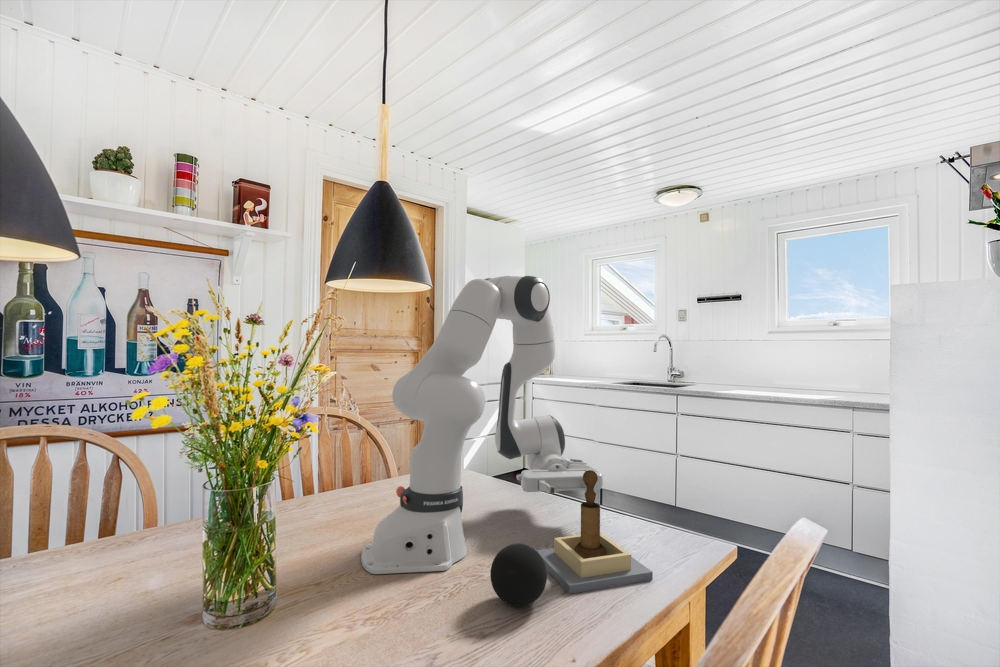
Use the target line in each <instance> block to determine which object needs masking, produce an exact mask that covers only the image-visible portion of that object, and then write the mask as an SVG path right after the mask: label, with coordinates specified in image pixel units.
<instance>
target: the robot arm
mask: <svg viewBox="0 0 1000 667" xmlns="http://www.w3.org/2000/svg"><path fill="white" fill-rule="evenodd" d="M550 297H551V296H550V291H549V288H548V286H547V284H546V282H544V280H543V279H542V278H540V277H537V276H533V275H525V276H522V275H521V276H519V275H502V276H497V277H488V278H474V279H471V280H469V281H468V282H467V283H466V284H465V285H464V287H463V288H462V289H461V291H460V292H459V294H458V295H457V296H456V298H455V300H454V301H453V303H452V305H451V307H450V310H449V311H448V314H447V315H446V318H445V320H444V322H443V324H442V326H441V328H440V330H439V333H438V334H437V337H436V338H435V340H434V341H433V344H431V346H430V347H429V349H428V350H427V352H426V353H425V354H424V355H423V356H422V357H421V359H420V360H419V361H418V362H417V364H416V365H415V366H414V367H413V368H412V369H411V370H410V371H408V372H407V373H406V374H404V375H403V376H401V377H400V378H399V379H398V380H397V381H396V382H395V384H394V387H393V389H392V396H391V398H392V403H393V405H394V407H395V408H396V409H397V411H399V412H400V413H401V414H403V415H404V416H406V417H408V418H410V419H411V420H415V421H416V420H417V421H420V422H423V423H424V424H423V431H422V434H421V437H420V439H419V442H418V443H417V444H416V445H415V446H414V447H413V448H412V449H411V452H410V454H409V456H410V457H409V459H410V460H409V486H408V487H406V488H405V487H404V486H402V485H401V486H397V488H396V490H395V493H396V495H397V497H398V498H399V506H398V507H396V508H395V509H394V510H393V511H392V512H391V513H389V514H388V515H387V516H385V517H384V518H383V519H382V520H380V521H379V522H378V523H377V525H376V527H375V529H374V532H373V536H372V537H373V538H372V542H369V543H367V544H366V545H365V546H364V547H363V548H362V551H361V554H360V555H361V557H360V561H361V565H362V567H363V569H364V570H365V571H367V572H368V573H370V574H373V575H384V574H405V573H424V572H425V573H427V572H440V571H441V572H442V571H447V570H449V569H450V568H451V567H452V566H453V564H455V563H456V562H459V561H460V560H462V559H463V558H464V557H465V556H466V555H467V554H468V548H467V547H468V546H467V544H466V540H465V534H464V528H463V518H462V512H463V508H464V491H463V486H462V484H461V482H462V480H461V479H462V456H463V448H464V445H465V441H466V438H467V436H468V433H469V431H470V429H471V428H472V427H473V425H474V424H476V423H477V422H478V421H479V420H480V418H481V417H482V415H483V412H484V410H485V405H486V398H485V392H484V390H483V388H482V386H481V385H480V384H479V383H477V382H476V381H475V380H473V379H470V378H467V377H465V376H463V375H464V374H465V373H466V372H467V371H468V370H469V369H471V368H472V367H474V366H476V365H477V364H478V363H479V361H481V359H482V356H483V354H484V351H485V349H486V347H487V345H488V342H489V340H490V337H491V334H492V332H493V330H494V328H495V324H496V322H497V319H498V320H499V319H500V320H507V321H511V323H512V346H513V350H512V354H511V357H510V359H509V360H508V362H506V363H505V364H504V365H503V368H502V372H501V380H500V387H499V388H500V391H499V398H498V400H499V401H498V412H497V413H498V415H497V423H496V427H495V428H496V429H495V436H494V443H495V444H494V445H495V447H496V450H497V451H496V452H497V453H498V454H500V455H501V456H503V457H504V458H506V459H507V460H513V459H517V458H521V457H524V456H526V457H525V458H526V460H525V461H526V466H527V468H528V469H524V470H522V471H521V473H519V474H516V476H515V477H516V479H517V481H520V486H521V489H522V491H523V492H526V493H537V492H542V493H543V492H544V493H546V494H548V495H550V494H551V495H552V494H555V493H559V492H562V491H563V492H565V491H585V492H586V490H587V487H586V485H585V483H584V481H583V474H584V473H585V472H586V471H588V470H592V471H594V472H595V473H596V474H597V477H598V480H597V482H596V484H595V486H594V491H595V490H601V489H603V485H604V475H603V473H601V472H600V470H598V469H596V468H595V467H593V466H592V465H588V463H587V461H586V460H582V459H573V458H567V457H564V456H563V454H564V451H565V449H566V439H565V438H566V436H565V433H564V429H563V427H562V424H561V423H560V422H559V421H558V420H557V419H556V418H555V417H554V416H552V415H549V414H548V415H538V416H535V417H529V418H524V419H523V418H522V419H515V413H516V412H515V411H516V404H517V403H516V400H517V393H518V392H519V390H520V389H521V387H522V386H524V384H525V383H527V382H528V381H530V380H532V379H534V378H536V377H538V376H540V375H541V374H543V373H544V372H546V371H547V369H549V367H551V365H552V364H553V361H554V360H555V355H556V354H555V353H556V352H555V351H556V347H555V346H556V345H555V337H554V336H555V334H554V329H553V328H554V327H553V321H552V318H551V314H550V311H549V305H550V299H551V298H550Z"/></svg>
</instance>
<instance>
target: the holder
mask: <svg viewBox="0 0 1000 667" xmlns="http://www.w3.org/2000/svg"><path fill="white" fill-rule="evenodd" d="M553 540H554V541H553V542H554V543H553V544H554V545H553V547H552V548H545V549H543V548H542V549H535V550H536V551H537V552H538V553H539V554H540V555H541V557H542V558H543V560H544V562H545V565H546V569H547V573H549V574H550V575H551V576H552V577H553V578H554V579H555V581H556V582H557V583H559V585H560V586H561V587H562V588H563V589H564V590H565V591H566V592H567V593H568V594H569V595H571V594H576V593H581V592H588V591H594V590H600V589H605V588H606V589H607V588H611V587H612V586H613V587H616V586H617V587H618V586H624V585H630V584H635V582H636V583H641V581H642V582H645V581H646V582H647V580H648V581H651V580H653V573H654V572H653V570H650V568H648V567H646V566H645V565H643V564H642V563H641V562H640V561H638V560H636V559H635V558H634V557H633V556H632V554H631V553H630V552H628V551H627V550H626V549H624V548H623V547H621V546H620V545H619V544H617V543H616V542H614V541H613V540H612V539H611V538H609V537H607V536H606V535H605V534H603V533H602V532H600V544H602V545H603V547H605V548H606V551H607V556H601V557H594V558H587V559H583V558H582V557H581V556H579V555H578V554H577V553H576V552H575V551H574V548H575V546H576V545H577V544H578V543H579V542H581V534H575V535H567V536H566V535H565V536H560V537H559V536H557V537H554V539H553Z"/></svg>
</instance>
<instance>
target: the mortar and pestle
mask: <svg viewBox="0 0 1000 667" xmlns="http://www.w3.org/2000/svg"><path fill="white" fill-rule="evenodd" d="M597 480H598V477H597V474H596V473H595V472H594V471H592V470H588V471H586V472H585V473H584V474H583V481H584V483H585V485H586V487H587V490H586V491H585V492H584V497H585V501H586V502H585V501H584V502H581V504H580V535H581V542H579V543H578V544H577V545H576V546H575V548H574V551H575V552H576V553H577V554H578V555H579V556H581V557H582V558H583V559H587V558H594V557H601V556H607V551H606V548H605V547H603V545H602V544H600V533H601V505H600V504H599V503H597V502H595V501H596V496H597V493H596V492H595V490H594V486H595V484H596V482H597Z"/></svg>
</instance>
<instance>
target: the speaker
mask: <svg viewBox="0 0 1000 667" xmlns="http://www.w3.org/2000/svg"><path fill="white" fill-rule="evenodd" d="M536 550H537V549H535V548H533V547H532V546H530V545H529V544H525V543H520V542H519V543H512V544H509V545H506V546H504V547H503V548H501V549H500V551H498V552H497V553H496V555H495V556H494V559H493V561H492V563H491V565H490V583H491V586H492V589H493V591H494V593H495V594H496V595H497V597H498V598H499V599H500V600H501V601H502V602H504V603H505V604H506V605H510V606H512V607H518V608H519V607H526V606H528V605H532V604H533V603H535V602H536V601H537V600H538V599H540V597H541V595H542V594H543V593H544V591H545V588H546V586H547V580H548V571H547V569H546V565H545V562H544V560H543V558H542V557H541V555H540V554H539V553H538V552H537V551H536Z"/></svg>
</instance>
